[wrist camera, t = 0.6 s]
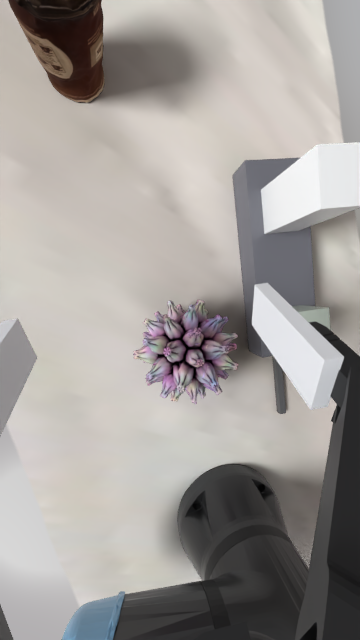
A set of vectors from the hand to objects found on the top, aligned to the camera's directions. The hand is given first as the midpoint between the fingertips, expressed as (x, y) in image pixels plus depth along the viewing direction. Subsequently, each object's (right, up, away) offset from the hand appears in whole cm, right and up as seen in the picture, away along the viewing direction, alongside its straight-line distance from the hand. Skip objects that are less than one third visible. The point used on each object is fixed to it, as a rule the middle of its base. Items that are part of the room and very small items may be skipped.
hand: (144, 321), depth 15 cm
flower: (+2, -3, +21) cm, 21 cm away
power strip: (+15, +3, +23) cm, 27 cm away
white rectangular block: (+14, +14, +19) cm, 27 cm away
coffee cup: (-10, +29, +16) cm, 34 cm away
